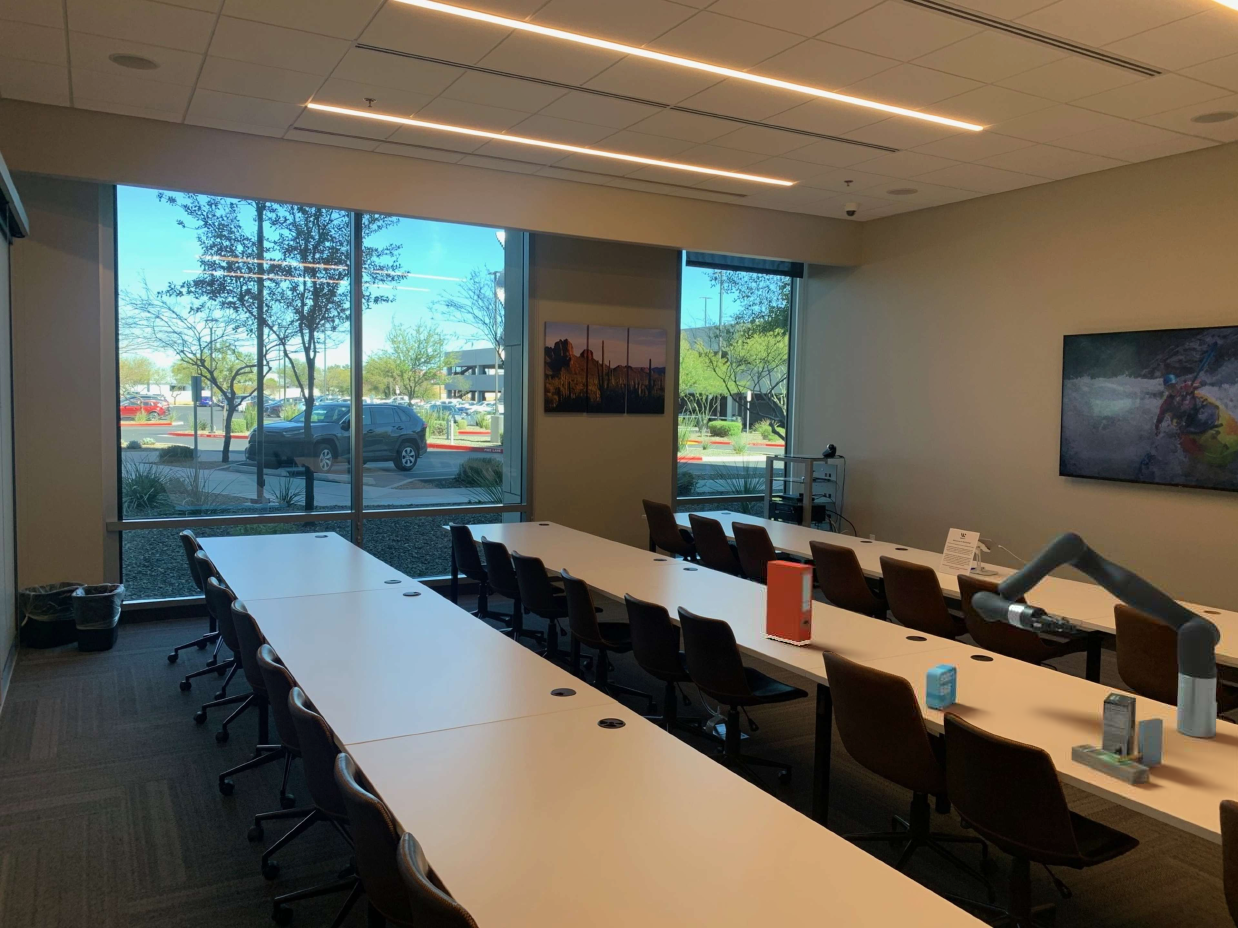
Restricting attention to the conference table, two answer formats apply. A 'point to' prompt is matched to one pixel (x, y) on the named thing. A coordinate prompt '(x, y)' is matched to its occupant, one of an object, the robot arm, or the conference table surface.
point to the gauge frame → (1110, 764)
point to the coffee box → (1119, 724)
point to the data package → (941, 686)
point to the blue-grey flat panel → (1148, 743)
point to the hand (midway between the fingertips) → (1074, 629)
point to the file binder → (789, 600)
